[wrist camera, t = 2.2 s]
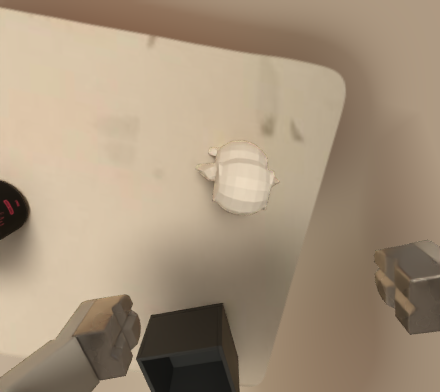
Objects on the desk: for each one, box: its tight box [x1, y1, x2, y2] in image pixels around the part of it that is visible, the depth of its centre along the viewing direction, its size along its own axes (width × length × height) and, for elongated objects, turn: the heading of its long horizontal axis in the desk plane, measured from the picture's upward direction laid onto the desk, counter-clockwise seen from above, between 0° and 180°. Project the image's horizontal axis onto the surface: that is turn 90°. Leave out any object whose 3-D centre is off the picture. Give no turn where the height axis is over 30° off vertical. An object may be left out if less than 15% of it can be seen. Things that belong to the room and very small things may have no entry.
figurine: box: [196, 141, 279, 215], centre depth 23 cm, size 8×5×12 cm, turn 81°
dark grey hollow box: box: [136, 303, 240, 392], centre depth 35 cm, size 10×10×6 cm
